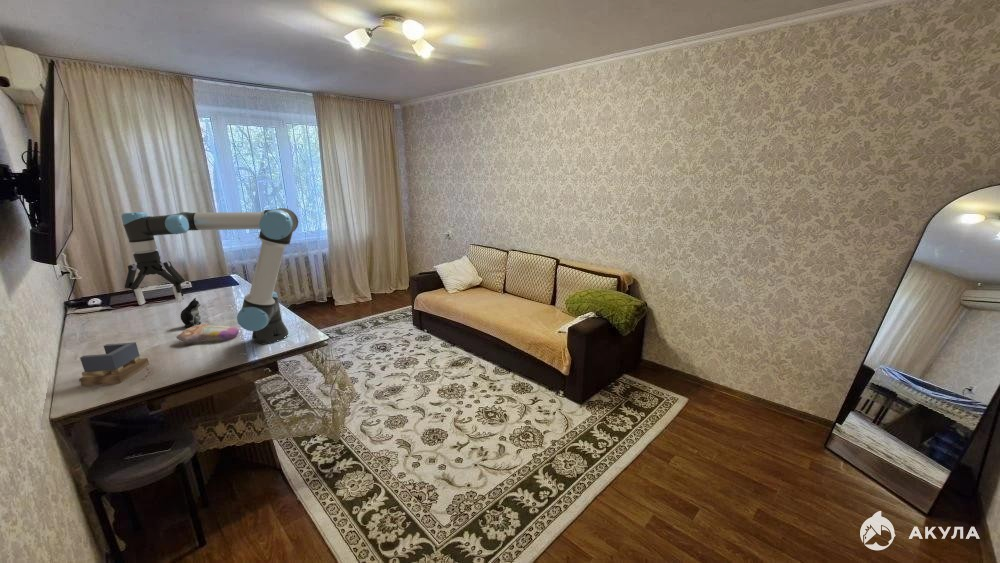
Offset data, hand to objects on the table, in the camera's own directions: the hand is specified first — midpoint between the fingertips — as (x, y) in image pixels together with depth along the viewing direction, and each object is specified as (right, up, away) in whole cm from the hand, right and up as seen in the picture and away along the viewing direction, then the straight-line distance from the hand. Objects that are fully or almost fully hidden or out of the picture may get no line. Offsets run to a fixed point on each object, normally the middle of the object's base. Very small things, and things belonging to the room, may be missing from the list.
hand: (161, 302), depth 156 cm
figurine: (-22, -16, +44) cm, 52 cm away
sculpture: (-2, -19, +30) cm, 36 cm away
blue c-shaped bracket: (-13, -24, -6) cm, 28 cm away
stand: (-13, -29, -5) cm, 32 cm away
